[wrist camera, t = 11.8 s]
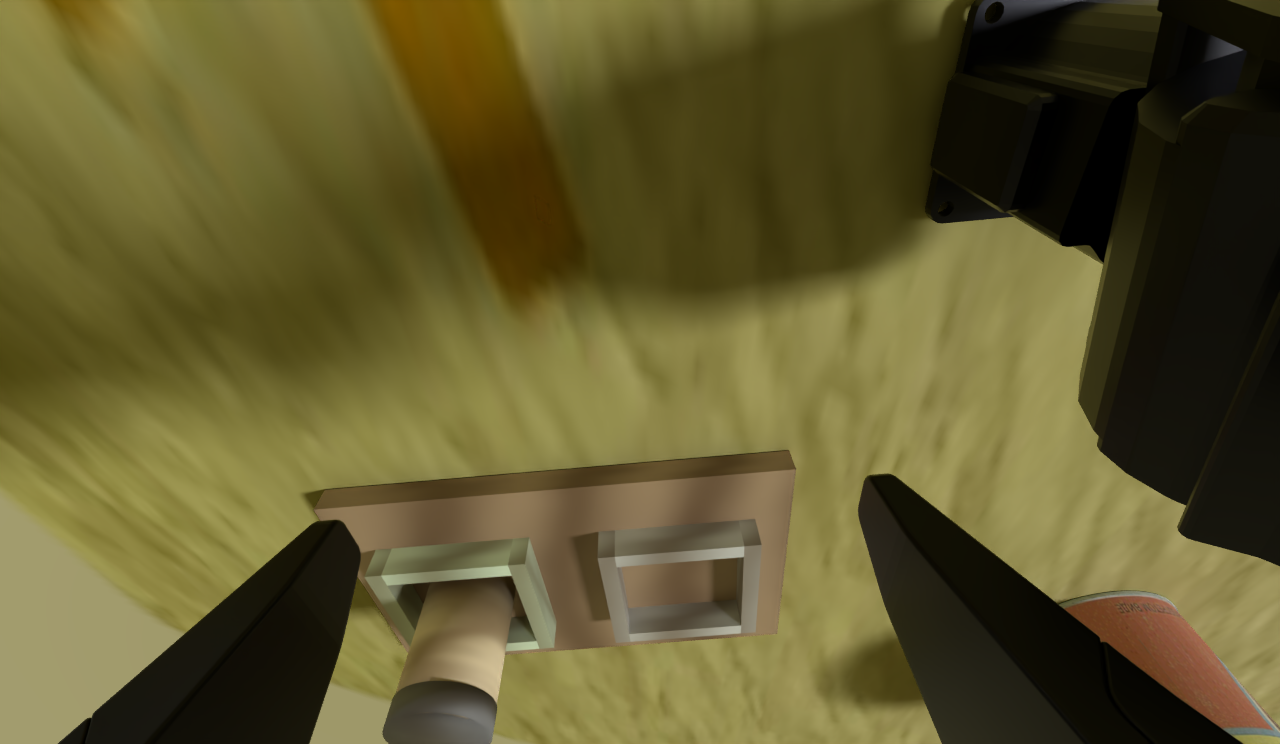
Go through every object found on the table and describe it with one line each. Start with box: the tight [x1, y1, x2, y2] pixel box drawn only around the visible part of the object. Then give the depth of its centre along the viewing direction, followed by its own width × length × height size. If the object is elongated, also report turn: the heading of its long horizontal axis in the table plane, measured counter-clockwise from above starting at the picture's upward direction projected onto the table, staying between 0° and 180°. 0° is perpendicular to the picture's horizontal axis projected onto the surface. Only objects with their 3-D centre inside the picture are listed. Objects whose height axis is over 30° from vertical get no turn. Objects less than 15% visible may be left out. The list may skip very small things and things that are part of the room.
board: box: [314, 451, 796, 655], centre depth 29 cm, size 22×14×3 cm, turn 95°
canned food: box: [1059, 591, 1280, 744], centre depth 32 cm, size 11×11×12 cm
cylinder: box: [383, 576, 516, 744], centre depth 26 cm, size 4×4×7 cm
